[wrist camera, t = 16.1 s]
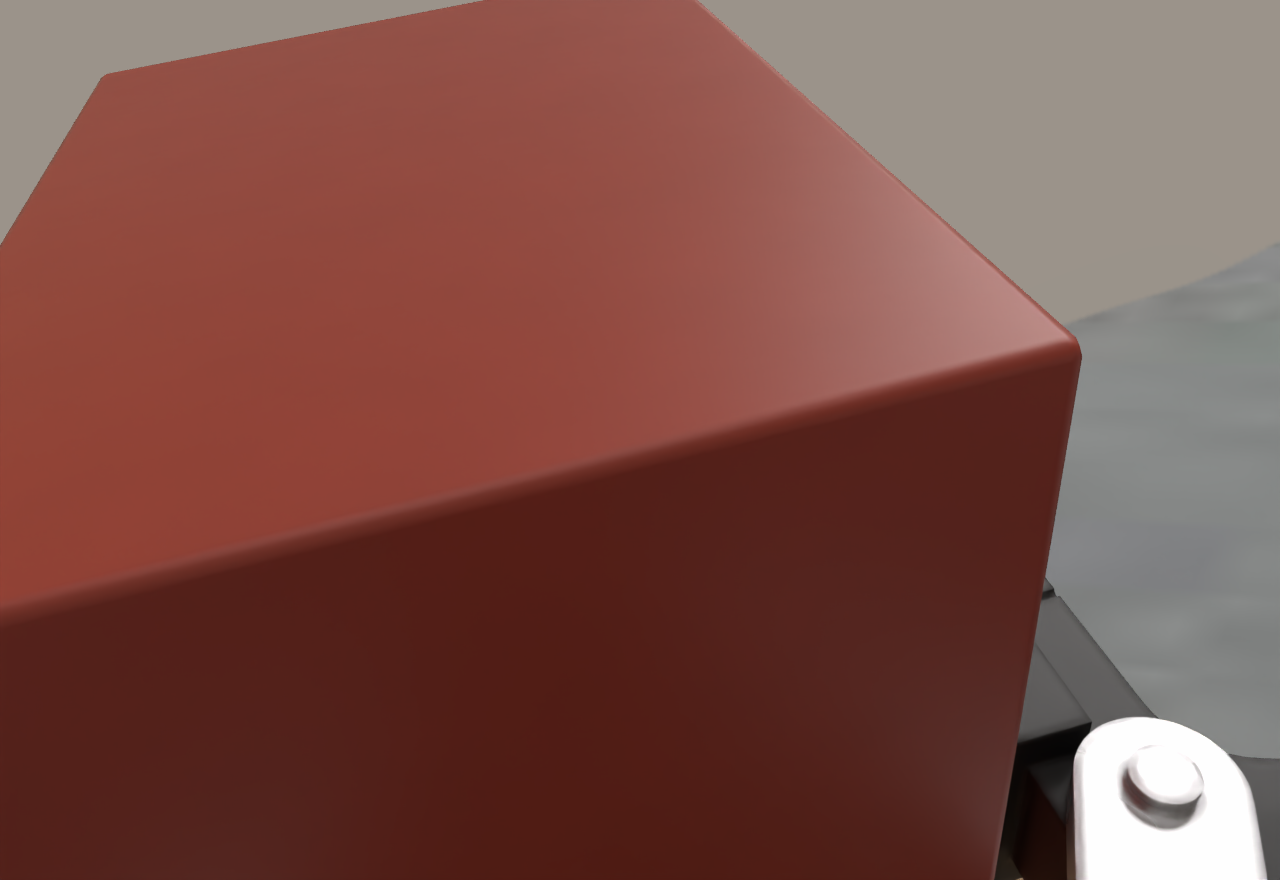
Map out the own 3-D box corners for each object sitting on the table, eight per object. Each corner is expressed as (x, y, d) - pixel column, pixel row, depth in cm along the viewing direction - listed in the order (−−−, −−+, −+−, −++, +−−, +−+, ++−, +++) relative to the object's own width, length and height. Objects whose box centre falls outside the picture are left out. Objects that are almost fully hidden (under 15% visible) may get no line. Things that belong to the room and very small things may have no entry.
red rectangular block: (760, 906, 17) (661, -37, 8) (916, 1359, 13) (1091, 343, 4) (505, 982, 17) (98, 72, 8) (569, 1481, 12) (-275, 680, 3)
